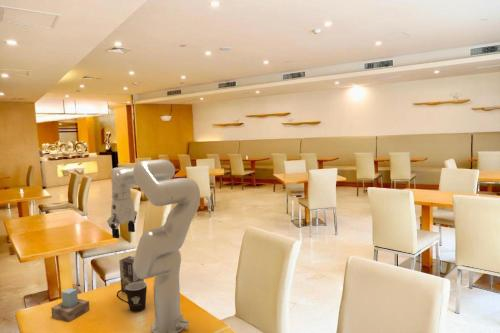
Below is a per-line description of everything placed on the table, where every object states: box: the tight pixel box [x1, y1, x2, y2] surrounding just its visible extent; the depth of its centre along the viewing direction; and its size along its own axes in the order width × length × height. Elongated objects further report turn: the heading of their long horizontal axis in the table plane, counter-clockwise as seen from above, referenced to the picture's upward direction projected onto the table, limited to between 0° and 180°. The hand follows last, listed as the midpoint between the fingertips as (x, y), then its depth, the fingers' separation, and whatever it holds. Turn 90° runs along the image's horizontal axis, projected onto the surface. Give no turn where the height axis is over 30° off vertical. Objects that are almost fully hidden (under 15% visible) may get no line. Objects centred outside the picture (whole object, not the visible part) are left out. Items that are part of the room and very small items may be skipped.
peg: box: [61, 287, 79, 308], centre depth 152 cm, size 4×4×10 cm
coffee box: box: [118, 255, 145, 295], centre depth 170 cm, size 9×6×16 cm
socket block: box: [50, 298, 91, 322], centre depth 152 cm, size 10×10×4 cm
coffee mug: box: [116, 282, 148, 313], centre depth 155 cm, size 12×9×10 cm
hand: (123, 234), depth 159 cm, fingers open, 9 cm apart
